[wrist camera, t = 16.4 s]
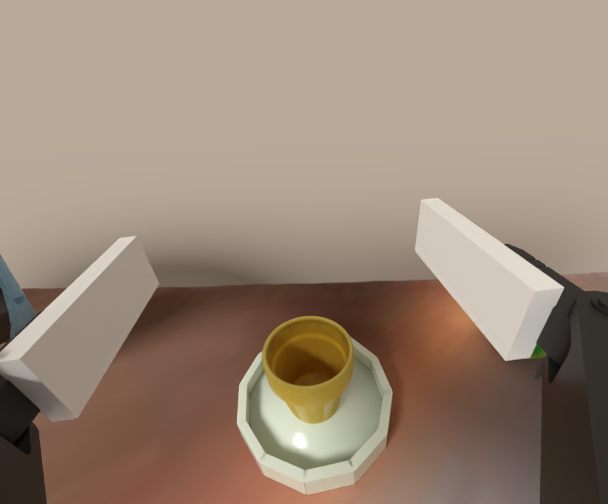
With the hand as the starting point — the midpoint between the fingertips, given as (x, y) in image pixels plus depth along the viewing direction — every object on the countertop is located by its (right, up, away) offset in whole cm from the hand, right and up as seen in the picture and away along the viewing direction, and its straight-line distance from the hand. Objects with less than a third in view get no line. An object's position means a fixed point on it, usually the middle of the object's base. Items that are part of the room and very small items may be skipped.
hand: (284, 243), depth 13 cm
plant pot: (+2, -20, +23) cm, 30 cm away
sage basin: (+2, -20, +24) cm, 31 cm away
